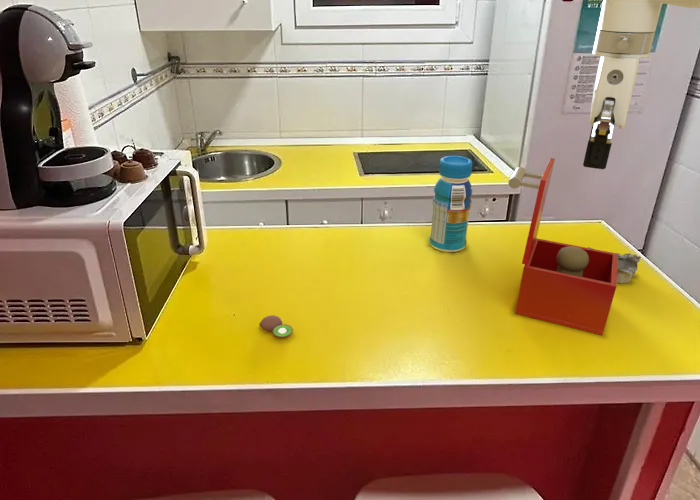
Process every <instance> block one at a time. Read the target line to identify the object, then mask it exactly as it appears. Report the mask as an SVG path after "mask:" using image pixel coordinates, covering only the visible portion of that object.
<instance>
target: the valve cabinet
mask: <svg viewBox="0 0 700 500" xmlns="http://www.w3.org/2000/svg"><path fill="white" fill-rule="evenodd" d="M568 246H572V247H578V248H580V249H583V250H584V251H586V253H587V254H588V257H589V262H588V264H587V266H586V268H585V269H583V275H582V277H579V276H575V275H570V274H565V273H560V272H556V270H557V267H558V263H557V254H558V252H559V251H560V250H561V249H562V248H564V247H568ZM591 248H592V247H590V248H588V247H585V246H579V245H574V244H569V243H563V242H559V241H553V240H548V239H544V238H543V239H542V238H538V237H536V240H535V243H534V246H533V248H532V251H531V254H530V257H529V259H528V262H527V265H525V264H523V269H522V275H521V279H520V284H519V290H518V296H517V301H516V307H515V312H514V315H519V316H523V317H527V318H531V319H535V320H539V321H543V322H547V323H551V324H555V325H559V326H563V327H567V328H571V329H575V330H579V331H584V332H588V333H592V334H594V335H595V334H596V335H600V336H603V335H604V331H605V328H606V325H607V323H608V322H607V321H608V318H609V314H610V312H611V307H612V303H613V300H614V297H615V293H616V290H617V285H618V283H617V264H618V254H617V253H618V252H611V251H607V250H601V249H595V248H594V249H591Z"/></svg>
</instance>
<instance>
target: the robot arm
mask: <svg viewBox="0 0 700 500" xmlns="http://www.w3.org/2000/svg"><path fill="white" fill-rule="evenodd" d="M663 5H670V6H677V7H683V8H688V9H700V0H602V5H601V10H600V15H599V19H598V24H597V30H596V33H595V38H594V43H593V47H592V53H591V54H592V55H594V56H598V57H599V62H598V66H597V71H596V76H595V81H594V86H593V92H592V98H591V104H590V113H589V124H590V125H591V130H590V133H589V137H588V138H589V139H588V141H587V145H586V149H585V154H584V159H583V163H582V166H583V167H584V168H590V169H597V170H605V169H606V168H607V164H608V160H609V156H610V154H611V153H610V152H611V148H612V144H613V143H612V142H611V141H612V137H613V132H614V129H615V126H617V127H618V129H620V130H621V129H623V128H625V127H626V121H627V118H628V114H629V109H630V105H631V101H632V97H633V93H634V90H635V85H636V80H637V77H638V72H639V66H640V59H646V58H649V57H650V53H651V50H652V45H653V41H654V37H655V34H656V30H657V25H658V22H659V18H660V15H661V10H662V7H663Z"/></svg>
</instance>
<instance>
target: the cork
mask: <svg viewBox="0 0 700 500" xmlns="http://www.w3.org/2000/svg"><path fill="white" fill-rule="evenodd" d="M588 262H589V257H588V254H587V253H586V251H584V250H583V249H580V248H578V247H572V246H568V247H564V248H562V249H561V250H560V251H559V252H558V254H557V263H558V267H557V270H556V272H560V273H565V274H570V275H575V276H579V277H582V275H583V269H585V268H586V266H587V264H588Z"/></svg>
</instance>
